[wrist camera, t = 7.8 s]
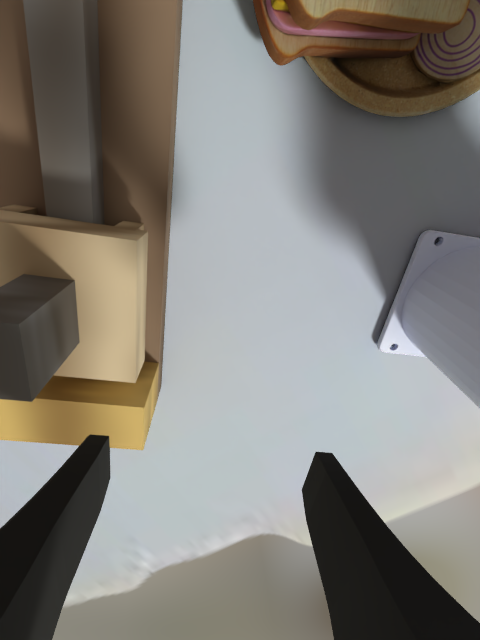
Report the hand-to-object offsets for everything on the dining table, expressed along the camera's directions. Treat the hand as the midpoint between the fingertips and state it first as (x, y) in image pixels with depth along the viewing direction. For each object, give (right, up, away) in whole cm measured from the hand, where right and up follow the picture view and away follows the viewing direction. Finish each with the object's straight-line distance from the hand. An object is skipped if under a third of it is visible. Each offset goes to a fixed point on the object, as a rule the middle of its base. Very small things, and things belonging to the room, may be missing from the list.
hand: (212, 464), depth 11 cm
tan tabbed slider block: (-7, +7, +6) cm, 12 cm away
